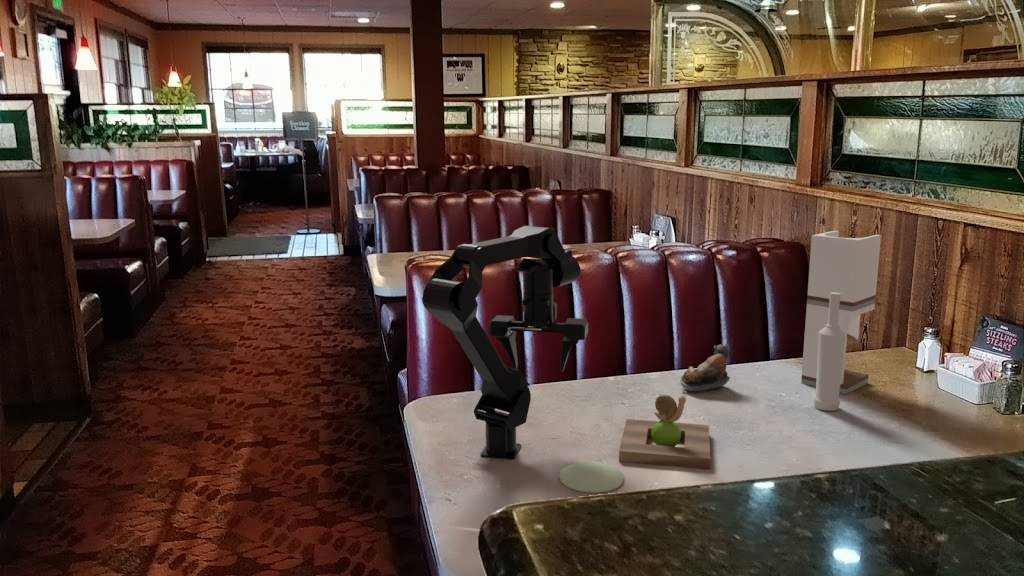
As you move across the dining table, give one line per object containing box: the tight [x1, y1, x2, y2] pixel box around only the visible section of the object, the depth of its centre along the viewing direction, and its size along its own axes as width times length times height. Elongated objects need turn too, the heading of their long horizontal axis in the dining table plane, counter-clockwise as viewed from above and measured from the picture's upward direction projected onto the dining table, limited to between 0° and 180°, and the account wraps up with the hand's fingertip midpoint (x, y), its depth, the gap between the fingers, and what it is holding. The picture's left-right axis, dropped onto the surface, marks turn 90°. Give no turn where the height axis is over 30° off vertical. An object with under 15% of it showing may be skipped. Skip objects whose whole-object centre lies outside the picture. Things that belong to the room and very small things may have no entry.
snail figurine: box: [651, 389, 688, 447], centre depth 146 cm, size 5×6×12 cm
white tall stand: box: [800, 230, 882, 395], centre depth 180 cm, size 11×11×35 cm
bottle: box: [813, 292, 845, 412], centre depth 165 cm, size 5×5×25 cm
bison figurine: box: [679, 343, 731, 392], centre depth 179 cm, size 12×7×10 cm, turn 112°
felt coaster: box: [559, 461, 625, 494], centre depth 135 cm, size 11×11×1 cm
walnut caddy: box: [618, 418, 711, 470], centre depth 147 cm, size 16×16×2 cm
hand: (538, 369), depth 153 cm, fingers open, 9 cm apart
